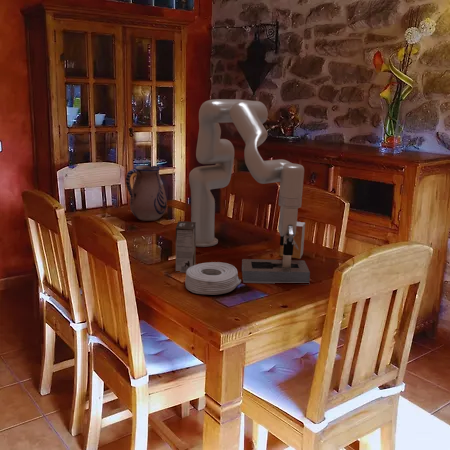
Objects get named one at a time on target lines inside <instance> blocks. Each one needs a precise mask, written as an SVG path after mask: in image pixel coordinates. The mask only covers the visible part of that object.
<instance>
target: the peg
mask: <svg viewBox="0 0 450 450" xmlns="http://www.w3.org/2000/svg"><path fill="white" fill-rule="evenodd" d="M287 238H289V237H287ZM284 243H285V236H284ZM283 248H284V246H283ZM282 260H283V265H282V268H291V260H292V258H291V255H283V256H282Z"/></svg>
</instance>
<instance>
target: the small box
mask: <svg viewBox="0 0 450 450" xmlns="http://www.w3.org/2000/svg"><path fill="white" fill-rule="evenodd" d="M305 229H306V221H305V222H301V221H297V226H296V234H295V236H294V237H293V240H294V243H293V244H294V247H293V255H291V259H292V258H293V259H297V260H298V259H299V260H300V259H301V258H302V257H303V254H304V245H305V243H304V242H305V231H306V230H305ZM279 249H280V250H279V256H280V257H283V246H281V245H280V248H279Z"/></svg>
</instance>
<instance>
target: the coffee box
mask: <svg viewBox="0 0 450 450" xmlns="http://www.w3.org/2000/svg"><path fill="white" fill-rule="evenodd" d="M195 231H196V222H191V221H187V220H185V221H184V220H183V221H181V220H180V221H178V222H177V224H176V227H175V272H176V271H180V272H179V273H186V271H187V269H188V268H190V267H192V266H194V265H196V246H195Z"/></svg>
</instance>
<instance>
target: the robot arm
mask: <svg viewBox="0 0 450 450" xmlns="http://www.w3.org/2000/svg"><path fill="white" fill-rule="evenodd" d="M267 108H268V107H267V106H266V105H265V104H264V103H263V102H262V101H259V100H248V99H237V98H236V99H234V98H232V99H231V98H230V99H229V98H228V99H226V98H221V99H220V98H218V99H217V98H215V99H209V100H206V101H204V102H202V104H201V105H200V108H199V111H198V123H199V124H198V125H199V127H198V128H199V129H198V135H197V143H196V150H195V157H196V161H197V162H198V163H199V164H202V165H203V166H196V167H194V168H193V169H192V170H190V172H189V175H188V183H189V189H190V201H191V203H190V204H191V205H190V207H191V209H190V210H191V211H190V212H191V213H190V220H191V221H190V222H196V231H195V247H198V248H199V247H200V248H205V247H212V246H216V245H217V244H218V242H219V239H218V238H216V237H215V214H216V213H215V212H216V203H215V202H216V200H215V198H214V195H213V194H212V191H211V190H215V189H223V188H225V187H227V186H228V185H230V181H231V178H232V174H233V167H234V160H235V147H234V145H233V143H232V142H231V141H230V140H228V138H227V139H226V138H221V134H222V128H221V126H220V124H219V123H223V124H224V123H233V125H234V126H235V128H236V130H237V132H238V133H239V135H240V137H241V138H242V140H243V142H244V144H245V146H244V156H243V157H244V163H245V166H246V167H247V169H248V171H249V173H250V175H251V177H252V178H253V179H254V180H255V181H256V182H257V183H258V184H261V185H263V184H264V185H265V184H273V183H279V190H278V191H279V192H278V206H279V207H280V209H279V218H278V224H277V225H278V227H277V229H278V233H279V235H280V237H279V238H280V239H279V245H280V246H284V248H283V255H293V247H294V244H293V243H294V240H293V237H294V236H295V234H296V226H297V222H298V213H299V212H298V211H299V210H298V209H300V208H301V207H302V203H303V201H302V199H303V189H304V181H305V180H304V177H305V167H304V166H303V165H302V164H300V163H299V164H298V163H292V161H291V162H290V161H289V160H286V159H282V158H281V159H271V160H268V159H267V160H264V159H263V158H262V156H261V154H260V152H259V150H258V147H260V146H261V145H262V144H263V143H264V142H265V141H266V139H267V138H268V130H267V129H266V127H265V126H264V125H263V124H264V123H266V122H267V120H268V116H269V112H268V109H267ZM284 236H285V243H284ZM287 237H289V238H287Z"/></svg>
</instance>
